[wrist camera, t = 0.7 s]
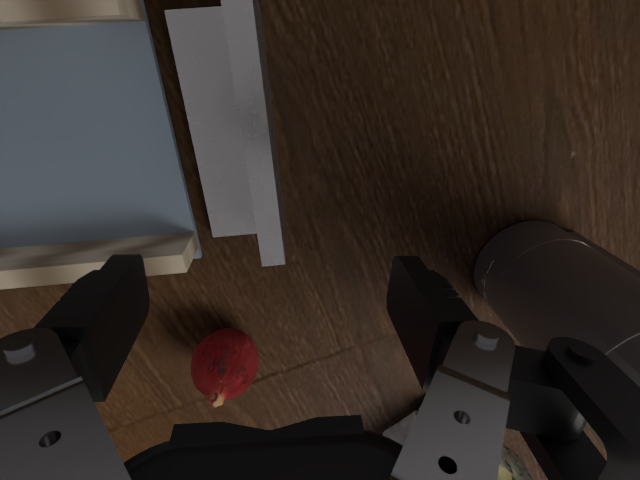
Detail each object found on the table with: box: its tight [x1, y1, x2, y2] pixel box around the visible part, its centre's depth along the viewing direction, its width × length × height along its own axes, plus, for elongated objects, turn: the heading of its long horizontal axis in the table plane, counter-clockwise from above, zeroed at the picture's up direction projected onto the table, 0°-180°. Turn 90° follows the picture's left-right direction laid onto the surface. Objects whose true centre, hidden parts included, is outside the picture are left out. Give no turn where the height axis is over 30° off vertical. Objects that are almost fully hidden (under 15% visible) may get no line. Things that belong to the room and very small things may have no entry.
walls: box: [0, 0, 198, 289], centre depth 25 cm, size 20×18×4 cm
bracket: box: [164, 0, 286, 267], centre depth 25 cm, size 16×6×7 cm, turn 4°
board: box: [0, 0, 202, 259], centre depth 27 cm, size 20×20×1 cm
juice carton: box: [383, 408, 533, 480], centre depth 44 cm, size 20×10×6 cm, turn 43°
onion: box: [191, 328, 259, 408], centre depth 33 cm, size 6×6×8 cm
